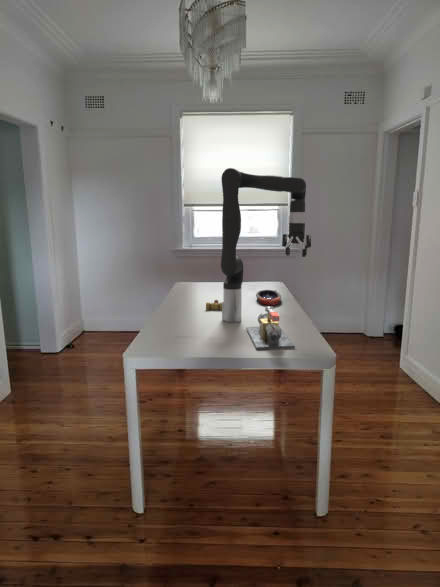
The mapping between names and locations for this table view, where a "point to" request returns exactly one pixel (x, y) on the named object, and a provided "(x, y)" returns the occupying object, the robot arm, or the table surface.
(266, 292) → the dish
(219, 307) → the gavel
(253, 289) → the table surface
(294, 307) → the table surface
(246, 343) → the table surface
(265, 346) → the valve body
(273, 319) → the valve lever
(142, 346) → the table surface
